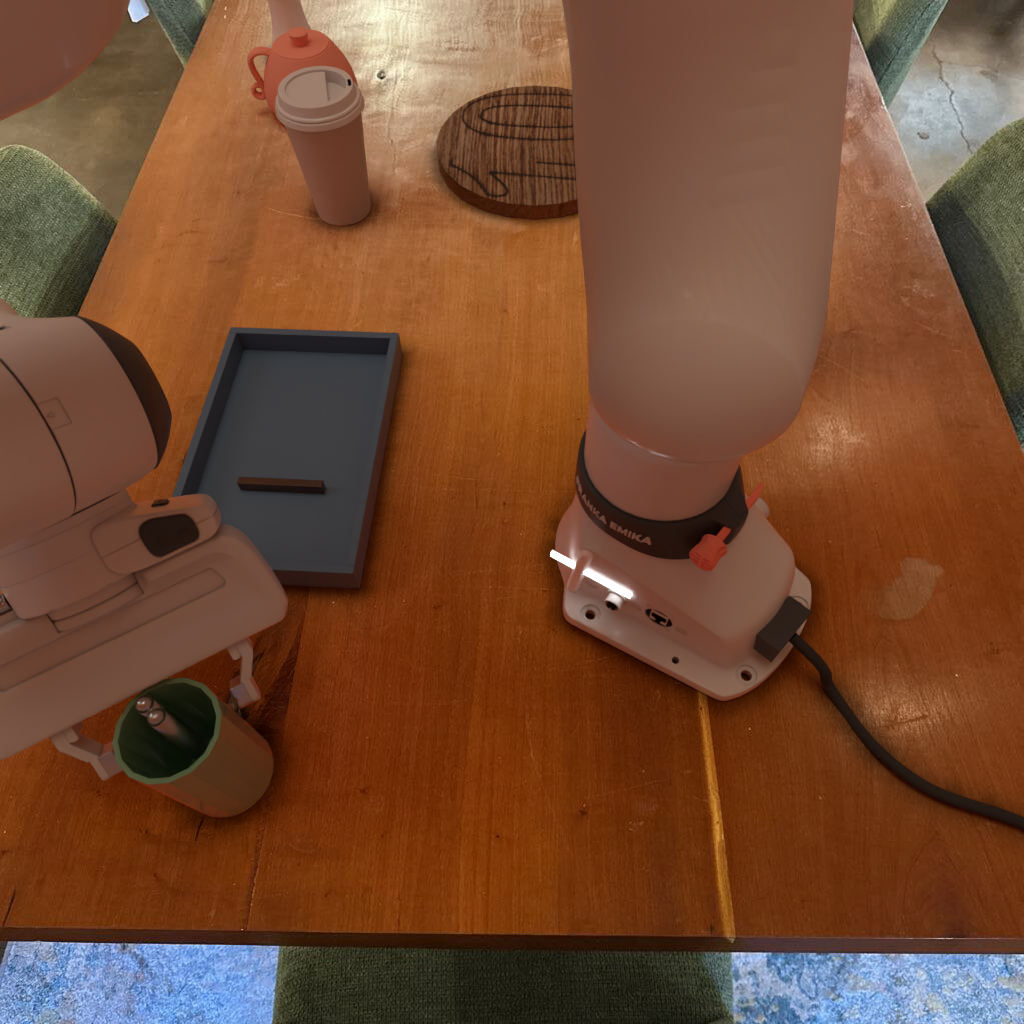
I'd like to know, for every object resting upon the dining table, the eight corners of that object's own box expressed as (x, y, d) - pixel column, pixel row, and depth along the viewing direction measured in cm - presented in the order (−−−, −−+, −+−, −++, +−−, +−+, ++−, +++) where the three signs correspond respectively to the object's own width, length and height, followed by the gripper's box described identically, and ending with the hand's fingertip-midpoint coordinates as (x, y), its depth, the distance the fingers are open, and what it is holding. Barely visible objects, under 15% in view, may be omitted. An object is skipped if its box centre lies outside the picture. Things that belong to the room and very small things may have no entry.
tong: (229, 758, 59) (153, 699, 49) (216, 770, 58) (137, 713, 48) (219, 748, 59) (143, 688, 49) (207, 760, 59) (127, 702, 49)
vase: (261, 54, 111) (239, -22, 103) (304, 35, 114) (286, -41, 105) (290, 75, 108) (270, -2, 100) (333, 55, 111) (317, -22, 103)
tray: (359, 589, 67) (353, 573, 64) (162, 579, 67) (148, 563, 65) (402, 353, 81) (398, 332, 78) (239, 347, 82) (230, 326, 79)
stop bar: (324, 494, 71) (321, 487, 70) (240, 490, 71) (236, 483, 70) (326, 487, 71) (323, 480, 70) (242, 483, 72) (238, 476, 71)
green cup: (291, 767, 59) (242, 723, 48) (222, 837, 56) (154, 807, 46) (237, 710, 61) (179, 657, 51) (168, 775, 59) (92, 734, 48)
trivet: (638, 219, 91) (640, 205, 90) (430, 219, 92) (428, 205, 90) (626, 98, 104) (628, 84, 103) (444, 99, 105) (442, 85, 103)
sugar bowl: (360, 133, 101) (345, 54, 92) (254, 140, 101) (228, 61, 92) (362, 82, 107) (348, 3, 99) (262, 87, 107) (239, 9, 98)
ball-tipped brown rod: (248, 779, 58) (164, 712, 48) (235, 792, 57) (148, 726, 48) (239, 769, 58) (155, 701, 49) (227, 782, 58) (139, 715, 49)
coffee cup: (370, 239, 90) (344, 117, 77) (293, 229, 91) (255, 107, 78) (392, 188, 95) (372, 65, 82) (320, 179, 96) (288, 57, 83)
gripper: (-120, 655, 42) (17, 844, 46) (231, 497, 48) (327, 679, 52) (-78, 622, 48) (40, 793, 52) (230, 484, 53) (317, 649, 57)
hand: (185, 735), depth 52 cm, fingers open, 8 cm apart
